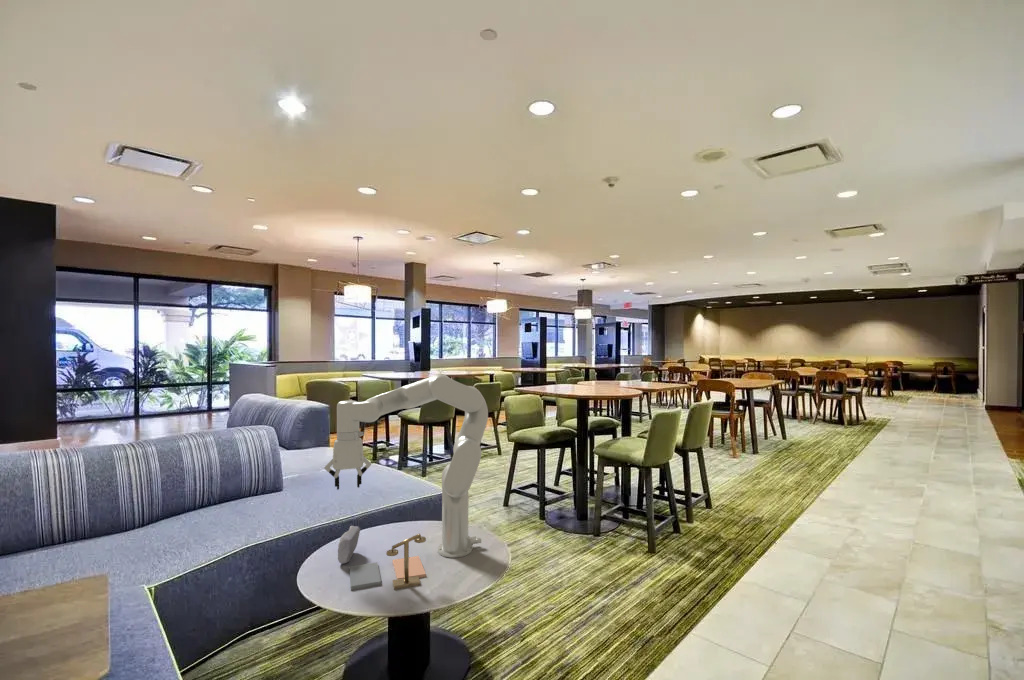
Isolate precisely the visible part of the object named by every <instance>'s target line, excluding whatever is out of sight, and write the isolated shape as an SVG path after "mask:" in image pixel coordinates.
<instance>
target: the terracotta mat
mask: <svg viewBox="0 0 1024 680" xmlns="http://www.w3.org/2000/svg"><path fill="white" fill-rule="evenodd" d="M392 567H393V571H394V574H395V578H396V579H402V578H404V557H403V558H396V559H392ZM414 576H418V577H419V579H420V578H427V577H426V576H427V574H426V571H425V569H424V565H423V563H422V561H421V557H420V556H419V555H414V556H409V577H414ZM396 579H395V580H396Z"/></svg>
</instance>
